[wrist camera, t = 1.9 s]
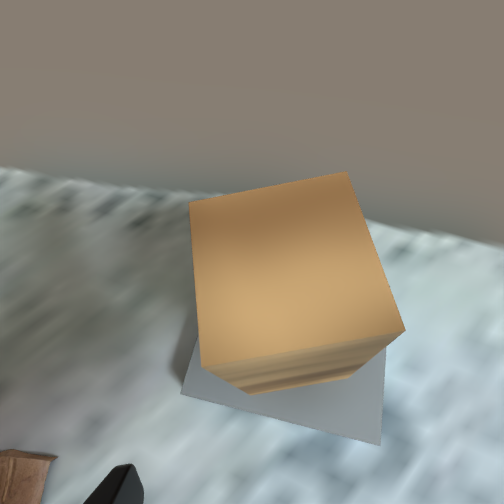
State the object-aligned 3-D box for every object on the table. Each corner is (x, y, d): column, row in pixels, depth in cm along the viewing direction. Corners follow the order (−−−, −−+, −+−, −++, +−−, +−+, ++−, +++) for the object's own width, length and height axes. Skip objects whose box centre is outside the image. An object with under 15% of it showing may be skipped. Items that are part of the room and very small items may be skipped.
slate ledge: (381, 297, 20) (389, 286, 19) (371, 443, 17) (380, 446, 15) (226, 270, 23) (220, 258, 21) (190, 396, 19) (180, 393, 17)
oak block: (347, 378, 17) (406, 330, 8) (250, 395, 17) (201, 367, 8) (322, 287, 19) (346, 171, 10) (237, 302, 19) (188, 202, 10)
